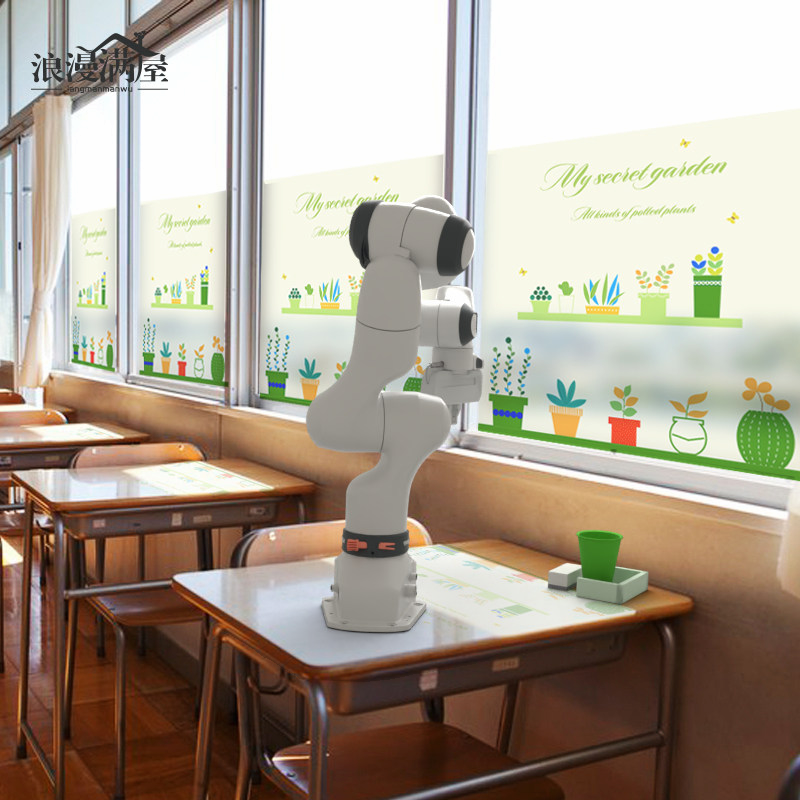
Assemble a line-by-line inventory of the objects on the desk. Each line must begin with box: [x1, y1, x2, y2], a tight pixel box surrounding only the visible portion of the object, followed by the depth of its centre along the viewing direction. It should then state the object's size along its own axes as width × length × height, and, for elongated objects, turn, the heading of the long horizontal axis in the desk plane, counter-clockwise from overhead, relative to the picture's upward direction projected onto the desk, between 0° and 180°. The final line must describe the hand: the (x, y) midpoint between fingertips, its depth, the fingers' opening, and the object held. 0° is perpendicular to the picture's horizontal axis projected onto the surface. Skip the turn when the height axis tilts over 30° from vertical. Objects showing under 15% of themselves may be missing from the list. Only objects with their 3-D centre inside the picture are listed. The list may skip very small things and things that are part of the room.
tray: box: [575, 566, 649, 605], centre depth 203 cm, size 14×9×4 cm, turn 146°
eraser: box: [547, 562, 583, 592], centre depth 208 cm, size 9×4×4 cm, turn 148°
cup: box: [575, 529, 624, 583], centre depth 204 cm, size 9×9×11 cm
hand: (450, 424), depth 226 cm, fingers closed
